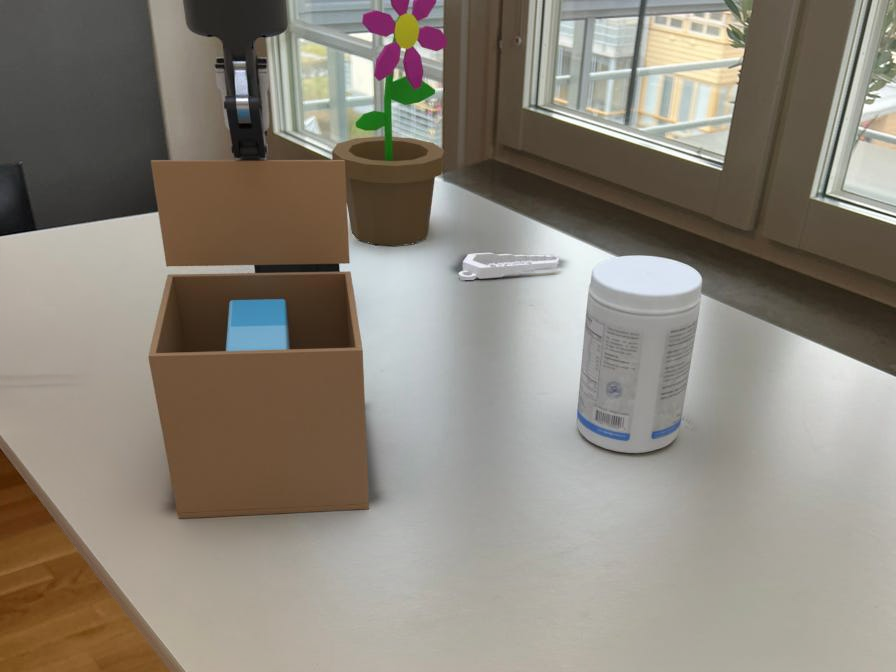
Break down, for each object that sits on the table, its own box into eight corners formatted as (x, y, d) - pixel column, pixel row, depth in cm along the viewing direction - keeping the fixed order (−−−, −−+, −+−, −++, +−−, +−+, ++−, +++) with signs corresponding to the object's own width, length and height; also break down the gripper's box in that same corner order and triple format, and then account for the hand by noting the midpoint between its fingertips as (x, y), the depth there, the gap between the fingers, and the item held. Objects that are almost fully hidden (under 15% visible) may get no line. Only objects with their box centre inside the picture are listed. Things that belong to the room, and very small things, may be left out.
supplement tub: (657, 405, 96) (683, 251, 87) (693, 453, 89) (725, 291, 80) (561, 411, 95) (577, 255, 85) (590, 461, 88) (610, 296, 78)
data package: (300, 493, 81) (287, 353, 73) (243, 496, 80) (224, 355, 72) (296, 424, 90) (285, 292, 82) (245, 426, 89) (229, 293, 81)
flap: (150, 160, 76) (151, 160, 77) (166, 266, 81) (166, 265, 81) (344, 160, 79) (344, 159, 79) (349, 263, 83) (349, 262, 83)
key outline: (547, 260, 127) (548, 246, 126) (561, 274, 123) (562, 260, 122) (450, 267, 123) (450, 253, 122) (461, 281, 120) (461, 267, 119)
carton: (178, 518, 78) (147, 356, 69) (191, 423, 90) (167, 274, 81) (369, 509, 80) (362, 349, 72) (357, 416, 92) (350, 271, 84)
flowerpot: (379, 259, 125) (371, -26, 106) (315, 228, 133) (297, -42, 114) (465, 237, 132) (472, -32, 113) (400, 210, 140) (396, -46, 121)
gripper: (182, -56, 76) (214, 184, 87) (169, -34, 66) (206, 233, 77) (281, -53, 77) (300, 183, 88) (283, -32, 67) (304, 231, 78)
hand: (256, 206), depth 83 cm, fingers closed
